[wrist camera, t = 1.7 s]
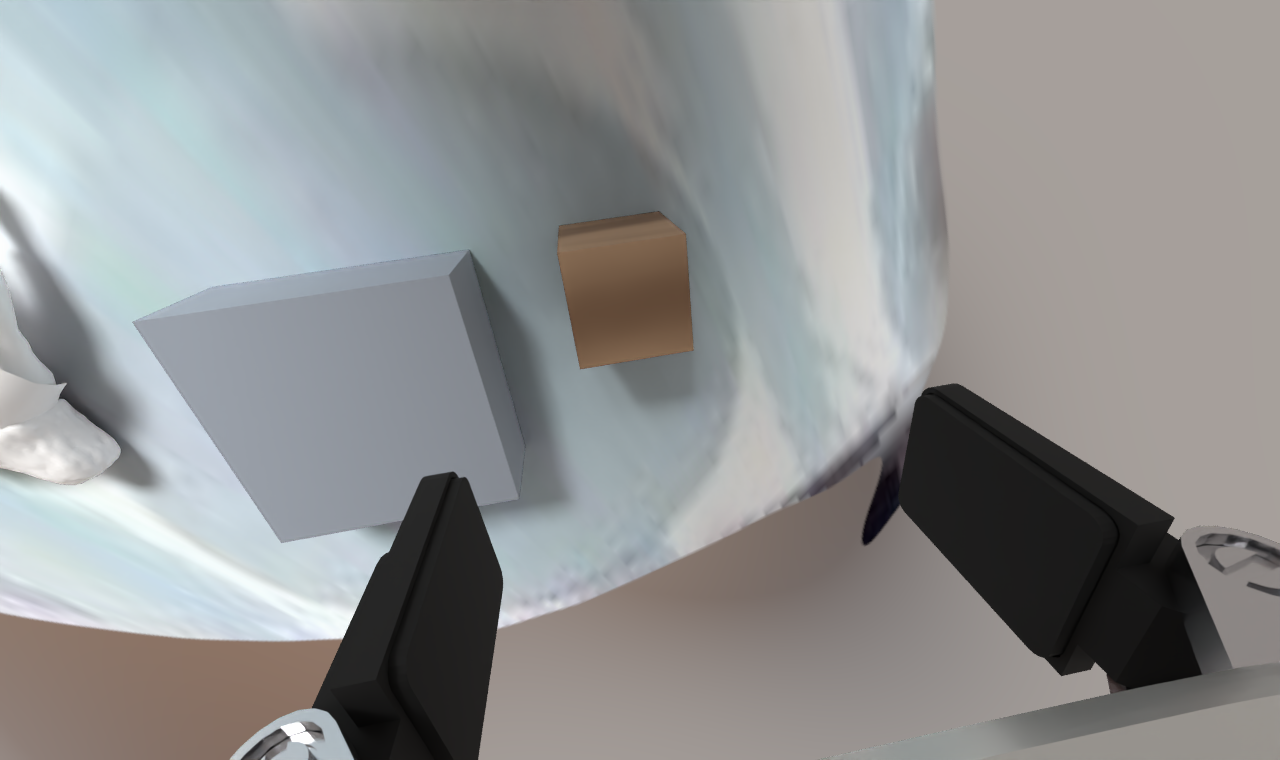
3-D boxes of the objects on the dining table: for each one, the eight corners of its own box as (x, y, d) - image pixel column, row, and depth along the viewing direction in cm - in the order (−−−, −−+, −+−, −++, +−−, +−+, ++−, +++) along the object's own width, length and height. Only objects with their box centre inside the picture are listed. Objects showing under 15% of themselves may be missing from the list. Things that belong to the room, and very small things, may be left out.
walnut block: (558, 225, 23) (557, 252, 18) (658, 211, 23) (686, 233, 18) (577, 320, 25) (580, 369, 20) (667, 306, 26) (693, 350, 21)
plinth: (216, 285, 22) (131, 321, 18) (470, 248, 23) (448, 274, 19) (325, 478, 28) (281, 542, 24) (525, 443, 29) (519, 499, 25)
